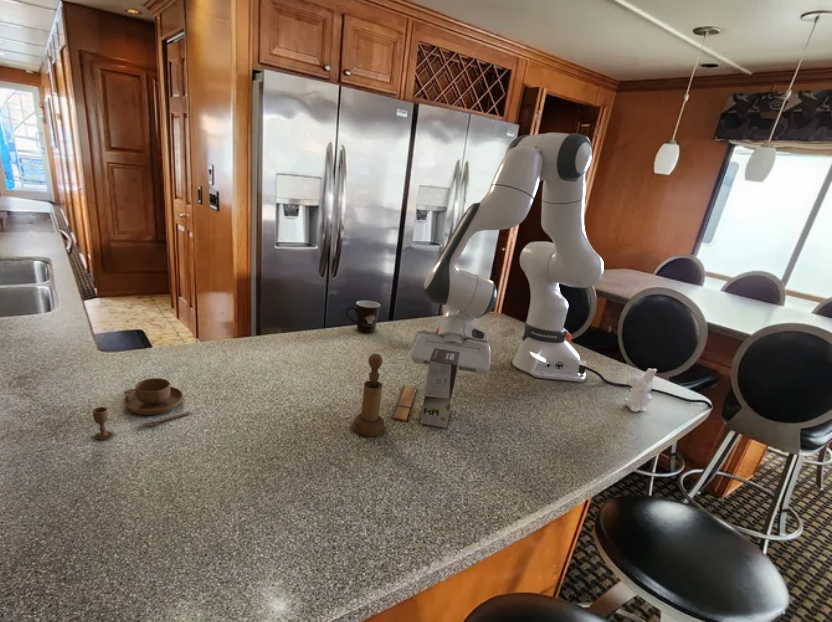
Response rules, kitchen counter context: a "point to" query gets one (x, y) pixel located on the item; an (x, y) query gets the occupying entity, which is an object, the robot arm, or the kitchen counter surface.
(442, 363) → the coffee box
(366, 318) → the coffee mug
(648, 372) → the white animal figurine
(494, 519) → the kitchen counter surface
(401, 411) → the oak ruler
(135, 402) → the place setting
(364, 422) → the mortar and pestle
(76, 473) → the kitchen counter surface
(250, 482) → the kitchen counter surface
